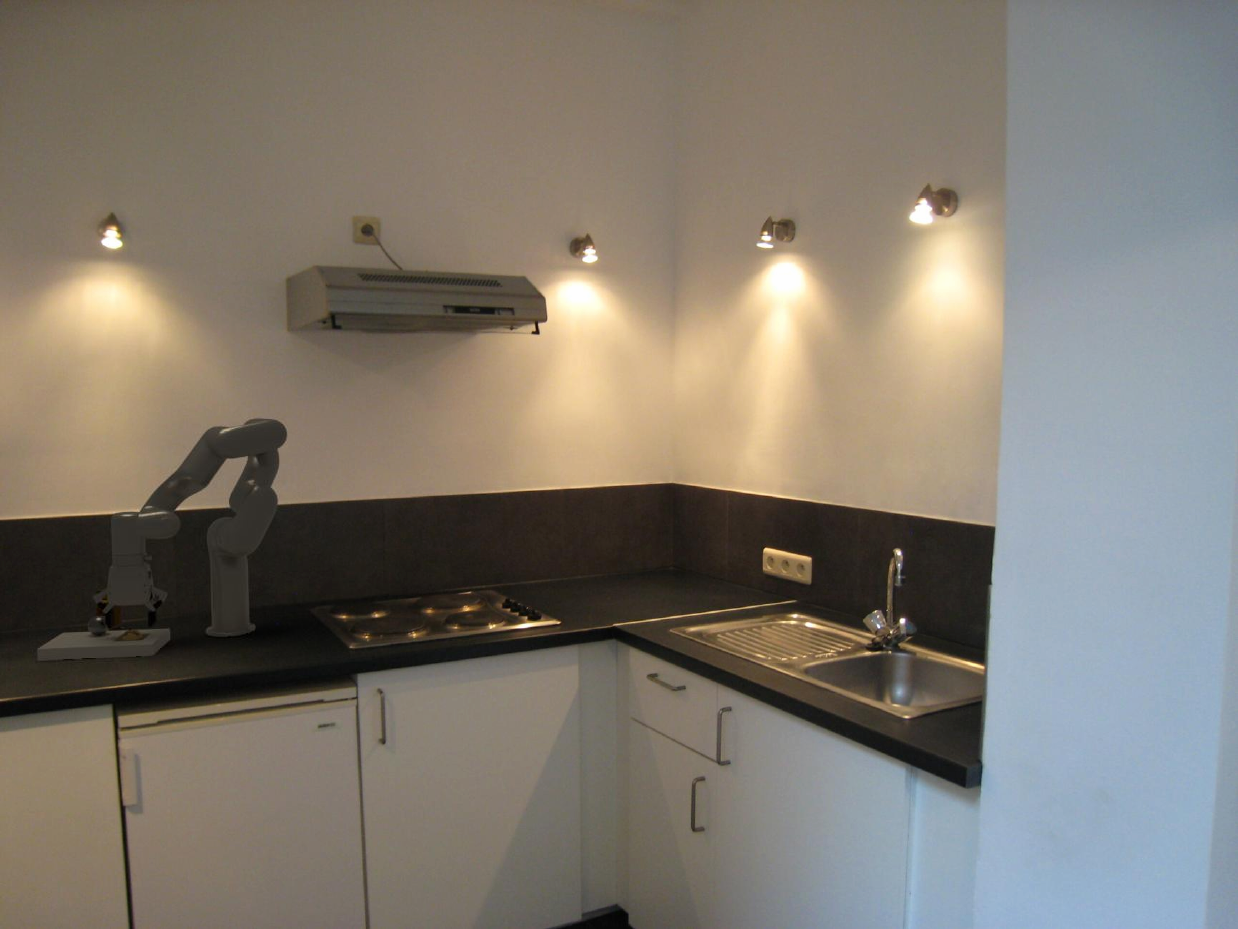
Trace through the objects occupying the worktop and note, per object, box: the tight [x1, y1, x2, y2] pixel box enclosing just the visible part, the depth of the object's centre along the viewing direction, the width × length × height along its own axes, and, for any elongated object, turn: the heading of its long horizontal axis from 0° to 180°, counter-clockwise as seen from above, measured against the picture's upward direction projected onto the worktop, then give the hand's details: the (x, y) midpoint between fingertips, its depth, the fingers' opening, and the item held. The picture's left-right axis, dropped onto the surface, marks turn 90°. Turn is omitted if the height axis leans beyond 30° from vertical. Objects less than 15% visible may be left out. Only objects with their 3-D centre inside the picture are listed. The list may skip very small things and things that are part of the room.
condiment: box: [95, 587, 123, 631], centre depth 257 cm, size 7×8×12 cm
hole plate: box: [36, 628, 171, 662], centre depth 239 cm, size 16×26×3 cm, turn 101°
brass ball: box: [121, 628, 143, 641], centre depth 240 cm, size 5×5×5 cm
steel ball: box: [87, 615, 109, 635], centre depth 242 cm, size 5×5×5 cm
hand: (131, 626), depth 240 cm, fingers open, 9 cm apart
